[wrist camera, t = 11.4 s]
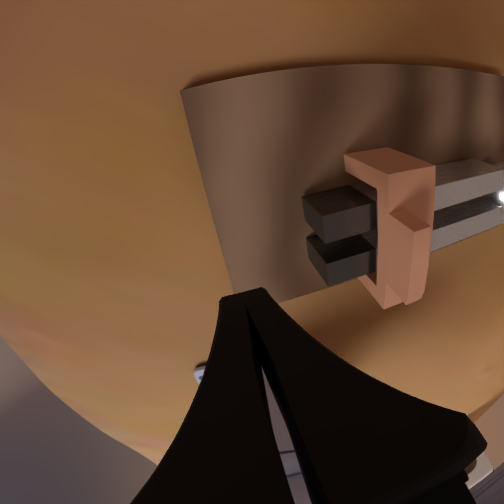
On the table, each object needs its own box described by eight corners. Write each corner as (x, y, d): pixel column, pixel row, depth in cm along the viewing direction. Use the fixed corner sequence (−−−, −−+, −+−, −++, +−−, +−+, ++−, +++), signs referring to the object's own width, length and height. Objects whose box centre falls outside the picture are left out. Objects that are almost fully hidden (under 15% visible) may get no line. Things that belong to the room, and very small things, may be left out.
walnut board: (495, 75, 16) (503, 76, 15) (491, 221, 23) (498, 225, 22) (180, 91, 14) (179, 90, 13) (237, 304, 21) (240, 313, 20)
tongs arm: (474, 158, 18) (502, 169, 15) (473, 176, 18) (501, 189, 16) (301, 196, 17) (322, 216, 14) (304, 220, 17) (325, 243, 15)
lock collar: (386, 147, 16) (463, 177, 11) (387, 258, 20) (443, 312, 14) (343, 154, 16) (415, 188, 10) (350, 270, 20) (401, 332, 14)
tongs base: (500, 155, 18) (531, 168, 15) (496, 200, 20) (525, 216, 17) (299, 194, 17) (325, 218, 14) (308, 258, 19) (331, 291, 16)
